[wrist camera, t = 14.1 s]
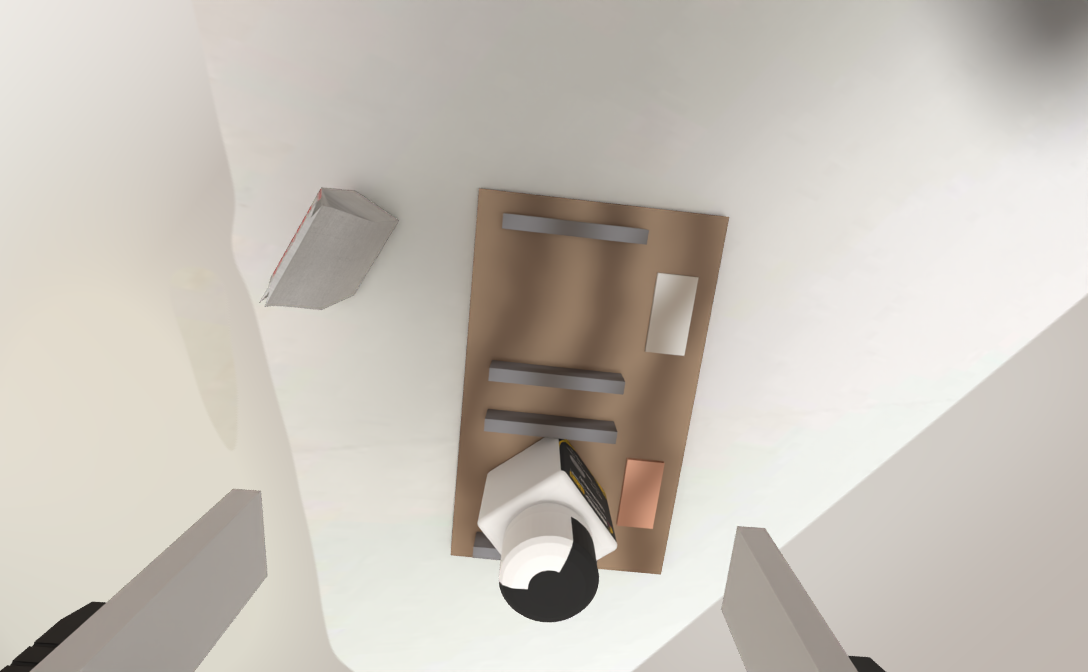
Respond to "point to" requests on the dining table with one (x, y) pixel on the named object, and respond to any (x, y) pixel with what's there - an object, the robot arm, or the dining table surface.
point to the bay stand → (586, 354)
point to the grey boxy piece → (330, 251)
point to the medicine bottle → (547, 530)
